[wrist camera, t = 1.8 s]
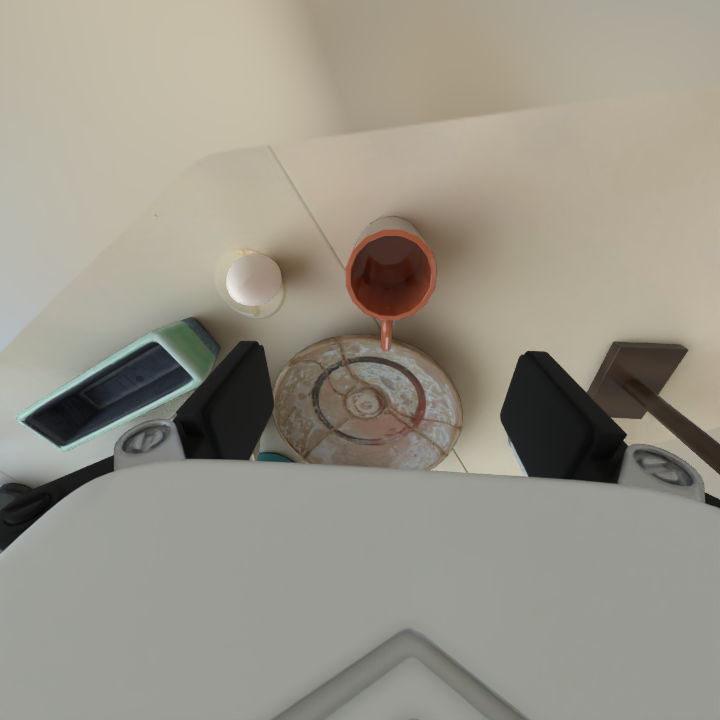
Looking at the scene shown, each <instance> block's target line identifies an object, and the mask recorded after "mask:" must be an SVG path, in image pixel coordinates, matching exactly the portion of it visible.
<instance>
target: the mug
mask: <svg viewBox="0 0 720 720" xmlns="http://www.w3.org/2000/svg"><path fill="white" fill-rule="evenodd" d="M436 276H437V267H436V264H435V260H434V256H433V253H432V251H431V250H430V248H429V247H428V245H427V243H426V242H425V240H424V239H423V237H422V236H421V234H420V233H419V232H418V230H417V229H416V228H415V227H414V226H413V224H412V223H410V222H408V221H406V220H404V219H402V218H399V217H383V218H380V219H378V220H376V221H374V222H372V223H370V224H369V226H367V227H366V229H365V230H364V231H363V232H362V233H361V235H360V237H359V239H358V241H357V243H356V245H355V247H354V249H353V251H352V253H351V255H350V258H349V261H348V263H347V266H346V287H347V290H348V292H349V294H350V297H351V299H352V301H353V302H354V303H355V304H356V305H357V306H358V307H359V308H360V309H361V310H362V311H363V312H364V313H365V314H367V315H370V316H372V317H374V318H377V319H379V320H382V323H381V349H382V350H383V351H385V352H387V351H389V350H390V349H391V345H392V330H393V320H399V319H402V318H405V317H408V316H411V315H413V314H414V313H415V312H417V311H418V310H419V309H420V308H422V307H423V306H424V305H425V304H426V303H427V301H428V299H429V298H430V296H431V294H432V292H433V291H434V288H435V283H436Z"/></svg>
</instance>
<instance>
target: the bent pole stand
mask: <svg viewBox="0 0 720 720" xmlns="http://www.w3.org/2000/svg"><path fill="white" fill-rule="evenodd" d="M687 352H688V349H686V348H685V347H683V346H681V345H674V344H648V343H622V342H613V344H612V346H611V348H610V349H609V351H608V353H607V355H606V357H605V359H604V361H603V363H602V365H601V367H600V369H599V371H598V373H597V374H596V376H595V378H594V380H593V382H592V384H591V386H590V388H589V390H588V392H587V394H588V395H589V396H590V397H591V398H592V399H593V400H594V401H595V402H596V403H597V404H598V405H599V406H600V407H601V408H602V409H603V410H604V411H605V412H606V413H607V414H608V416H609V417H613V418H631V419H642V417H643V416H644V414H645V413H646V412H647V411H648V412H649V413H650V414H651V415H652V416H654V417H655V418H656V419H657V420H658V421H659V422H660V423H662V424H663V425H664V426H665V427H666V428H667V429H668V430H669V431H671V432H672V433H673V434H674V435H675V436H676V437H677V438H679V439H680V440H681V441H682V442H683V443H684V444H685V445H687V446H688V447H689V448H690V449H691V450H692V451H693V452H695V453H696V454H697V455H698V456H699V457H700V458H701V459H703V460H704V461H705V462H706V463H707V464H708V465H709V466H710V467H712V468H713V469H714V470H715V471H716V472H717V473H718V474H720V444H719V443H718V442H717V441H715V440H714V439H713V438H712V437H710V436H709V435H708V434H707V433H705V432H704V431H703V430H701V429H700V428H699V427H698V426H696V425H695V424H694V423H693V422H691V421H690V420H689V419H687V418H686V417H685V416H684V415H682V414H681V413H680V412H679V411H677V410H676V409H675V408H673V407H672V406H671V405H670V404H668V403H667V402H666V401H665V400H663V399H662V398H661V397H660V396H658V394H659V393H660V391H661V390H662V388H663V387H664V385H665V384H666V382H667V381H668V379H669V378H670V376H671V375H672V374H673V372H674V371H675V369H676V368H677V366H678V365H679V363H680V362H681V360H682V359H683V357H684V356H685V355H686V353H687Z"/></svg>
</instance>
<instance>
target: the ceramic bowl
mask: <svg viewBox="0 0 720 720" xmlns="http://www.w3.org/2000/svg"><path fill="white" fill-rule="evenodd" d="M273 398H274V409H273V412H272V413H273V418H274V422H275V425H276V428H277V430H278V432H279V434H280V435H281V437H282V439H283V440H284V441H285V443H286V444H287V445H288V446H289V447H290V449H291V450H292V451H293V452H294V453H295V454H296V455H297V456H299V457H300V458H301V459H303V460H304V461H305V462H306V463H308V464H324V465H343V466H361V467H378V468H395V469H412V470H429V471H430V470H431V469H433V468H434V467H436V466H437V465H438V464H440V463H441V462H442V461H443V460H444V459H445V458H446V457H447V456H448V454H449V453H450V451H451V450H452V449H453V447H454V446H455V444H456V442H457V439H458V437H459V435H460V432H461V428H462V422H463V411H462V405H461V400H460V397H459V394H458V391H457V389H456V387H455V385H454V384H453V382H452V380H451V379H450V377H449V376H448V374H447V373H446V372H445V371H444V369H443V368H442V367H441V366H440V365H439V364H438V363H437V362H436V361H435V360H433V359H432V358H431V357H429V356H428V355H427V354H425V353H424V352H422V351H421V350H419V349H417V348H415V347H413V346H411V345H409V344H406V343H404V342H401V341H398V340H395V339H392V345H391V349H390V350H389V351H387V352H385V351H383V350H382V349H381V336H377V335H366V334H352V335H343V336H338V337H332V338H328V339H325V340H322V341H319V342H317V343H314V344H312V345H310V346H308V347H306V348H305V349H303V350H302V351H300V352H299V353H297V354H296V355H295V356H294V357H293V358H292V359H291V360H290V361H289V362H288V363H287V364H286V365H285V367H284V368H283V369H282V371H281V373H280V374H279V376H278V378H277V380H276V383H275V386H274V389H273Z"/></svg>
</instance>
